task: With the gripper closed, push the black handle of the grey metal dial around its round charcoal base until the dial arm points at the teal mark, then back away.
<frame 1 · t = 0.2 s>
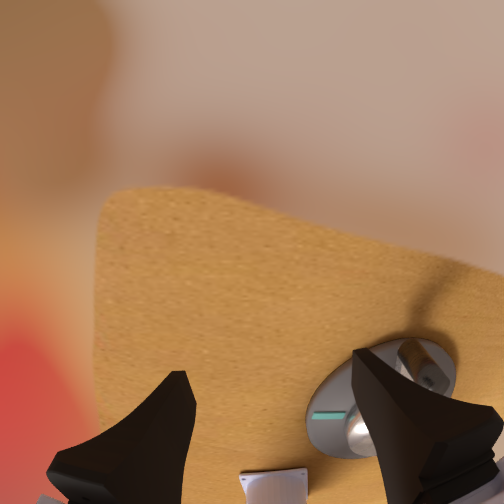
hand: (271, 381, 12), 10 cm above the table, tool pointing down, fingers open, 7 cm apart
dial base: (383, 404, 25), on the table
dial: (404, 418, 20), point 5 cm above the table, hinge at 0.0°
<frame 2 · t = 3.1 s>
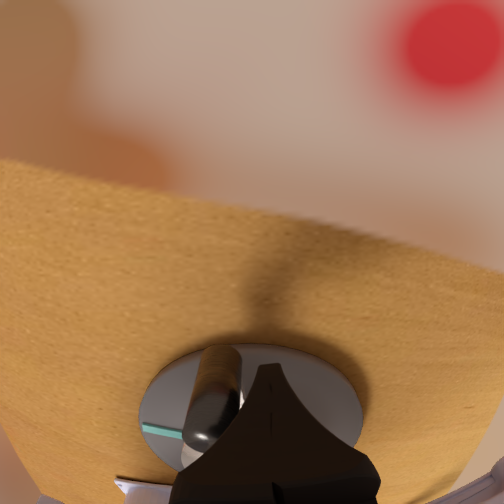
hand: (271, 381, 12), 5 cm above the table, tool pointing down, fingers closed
dial base: (250, 430, 19), on the table
dial: (242, 460, 14), point 5 cm above the table, hinge at 0.2°, touching gripper
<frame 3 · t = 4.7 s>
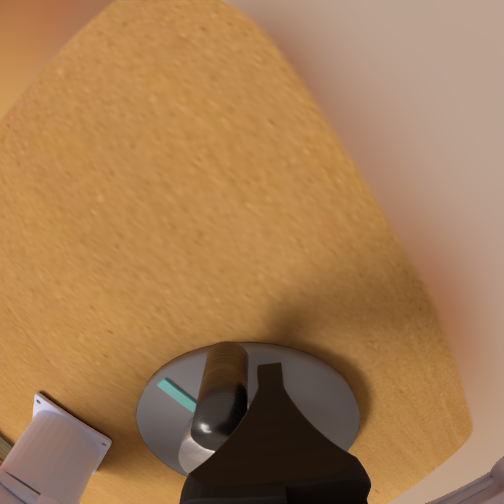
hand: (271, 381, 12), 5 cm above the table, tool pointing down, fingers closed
hardcover book: (6, 457, 26), on the table
dial base: (247, 429, 19), on the table
dial: (241, 459, 14), point 5 cm above the table, hinge at 38.1°, touching gripper
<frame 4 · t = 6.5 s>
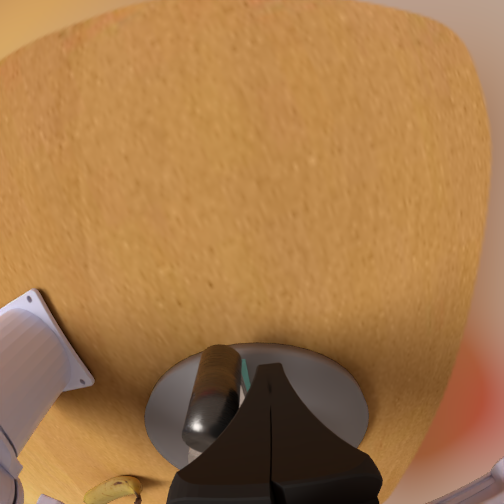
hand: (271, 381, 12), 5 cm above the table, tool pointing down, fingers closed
banana: (119, 477, 23), on the table
dial base: (256, 429, 19), on the table
dial: (247, 460, 14), point 5 cm above the table, hinge at 78.4°, touching gripper
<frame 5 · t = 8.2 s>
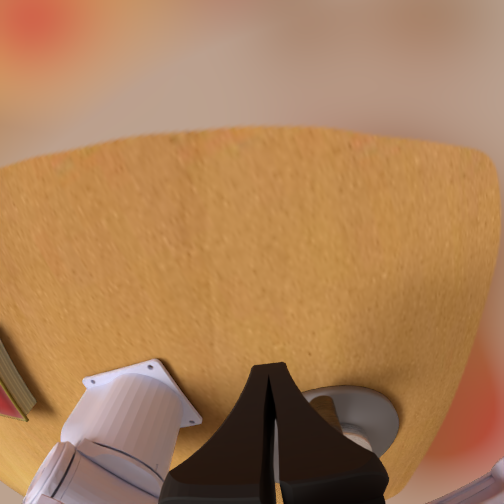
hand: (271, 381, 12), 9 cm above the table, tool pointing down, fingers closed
dial base: (321, 440, 26), on the table
dial: (328, 462, 20), point 5 cm above the table, hinge at 78.6°
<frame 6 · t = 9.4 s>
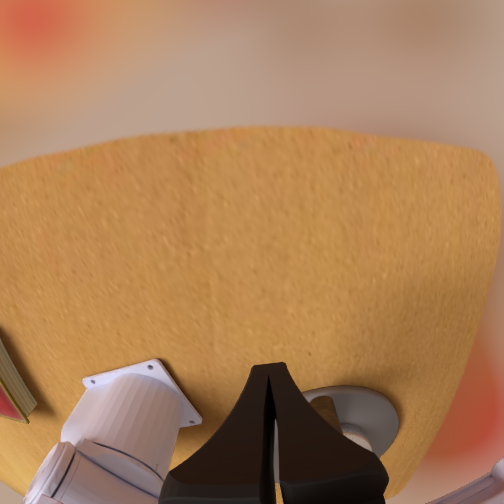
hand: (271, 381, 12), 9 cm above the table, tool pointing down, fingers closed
dial base: (321, 440, 26), on the table
dial: (328, 462, 20), point 5 cm above the table, hinge at 78.6°
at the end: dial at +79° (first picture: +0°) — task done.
